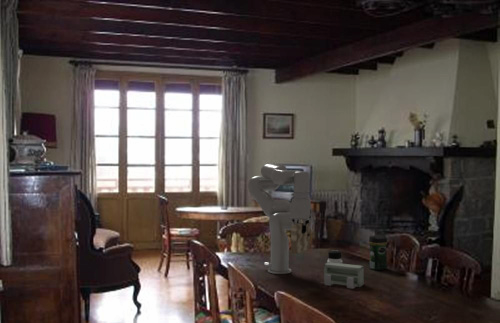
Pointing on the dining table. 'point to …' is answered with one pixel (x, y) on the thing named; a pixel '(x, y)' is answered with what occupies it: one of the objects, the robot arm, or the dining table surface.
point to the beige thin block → (299, 238)
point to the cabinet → (343, 274)
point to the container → (334, 257)
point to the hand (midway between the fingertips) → (300, 232)
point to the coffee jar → (378, 252)
